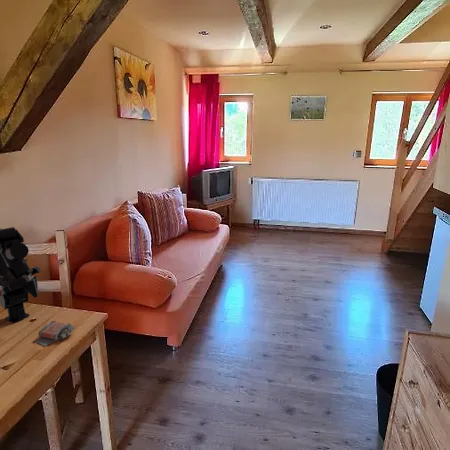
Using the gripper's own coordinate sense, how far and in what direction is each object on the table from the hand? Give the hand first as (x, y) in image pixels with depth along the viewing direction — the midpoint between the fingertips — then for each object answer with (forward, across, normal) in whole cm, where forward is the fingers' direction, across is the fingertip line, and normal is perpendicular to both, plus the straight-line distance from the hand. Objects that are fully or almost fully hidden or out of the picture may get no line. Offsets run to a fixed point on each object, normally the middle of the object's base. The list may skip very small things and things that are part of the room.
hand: (36, 296), depth 129 cm
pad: (+15, +8, +1) cm, 17 cm away
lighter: (+12, +5, -1) cm, 13 cm away
